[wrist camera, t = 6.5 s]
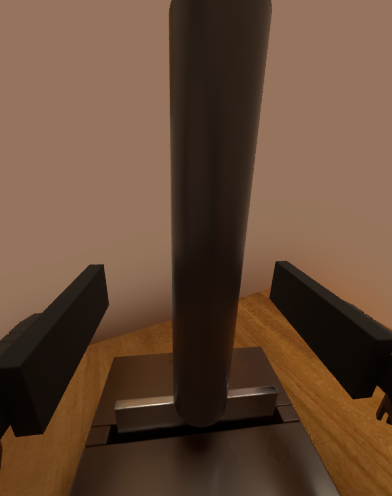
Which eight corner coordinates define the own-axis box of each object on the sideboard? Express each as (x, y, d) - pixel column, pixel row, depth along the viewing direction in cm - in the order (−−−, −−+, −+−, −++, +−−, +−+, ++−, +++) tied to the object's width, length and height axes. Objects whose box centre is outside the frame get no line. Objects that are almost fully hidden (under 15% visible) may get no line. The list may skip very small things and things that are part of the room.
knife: (120, 515, 10) (10, -72, 3) (130, 448, 12) (78, 35, 6) (271, 490, 11) (408, -5, 4) (252, 432, 13) (323, 63, 7)
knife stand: (49, 681, 7) (17, 647, 5) (119, 396, 15) (113, 356, 14) (346, 606, 8) (379, 564, 7) (254, 383, 16) (261, 346, 15)
